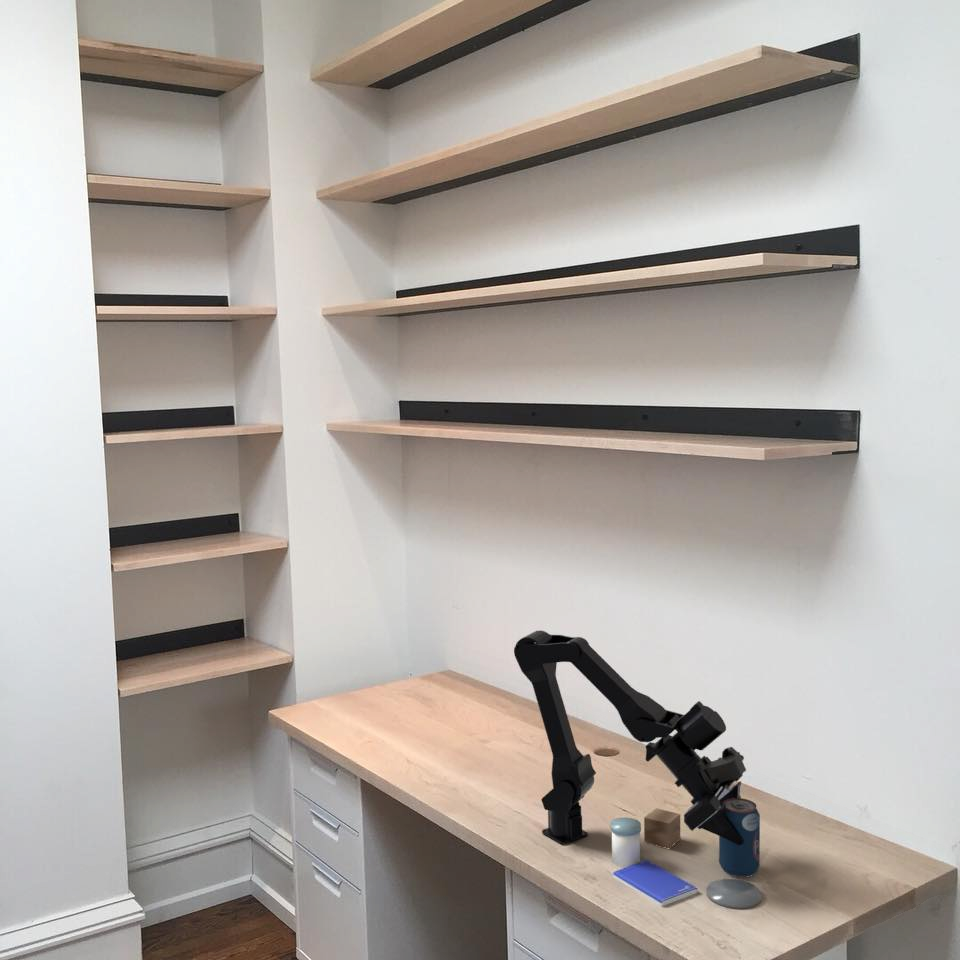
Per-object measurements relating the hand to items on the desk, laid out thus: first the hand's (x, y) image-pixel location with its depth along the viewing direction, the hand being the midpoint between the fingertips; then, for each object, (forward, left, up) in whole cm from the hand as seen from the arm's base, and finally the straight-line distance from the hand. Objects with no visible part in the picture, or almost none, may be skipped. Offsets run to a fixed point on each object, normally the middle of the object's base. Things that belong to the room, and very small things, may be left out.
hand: (747, 835), depth 182 cm
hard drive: (-6, -16, -7) cm, 19 cm away
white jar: (-16, -14, -7) cm, 22 cm away
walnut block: (-18, -3, -7) cm, 19 cm away
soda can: (-1, -1, -7) cm, 7 cm away
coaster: (+4, -8, -7) cm, 11 cm away
